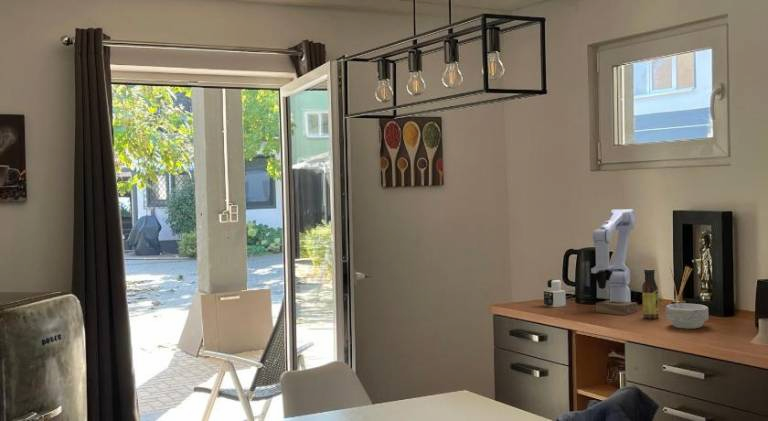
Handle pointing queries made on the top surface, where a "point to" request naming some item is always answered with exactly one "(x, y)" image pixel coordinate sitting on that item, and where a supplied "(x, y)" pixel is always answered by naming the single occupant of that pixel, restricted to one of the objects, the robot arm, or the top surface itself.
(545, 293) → the medicine bottle
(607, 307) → the brown wooden block
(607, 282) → the rail bracket
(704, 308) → the grey stone bowl
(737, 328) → the top surface
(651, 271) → the sauce bottle
